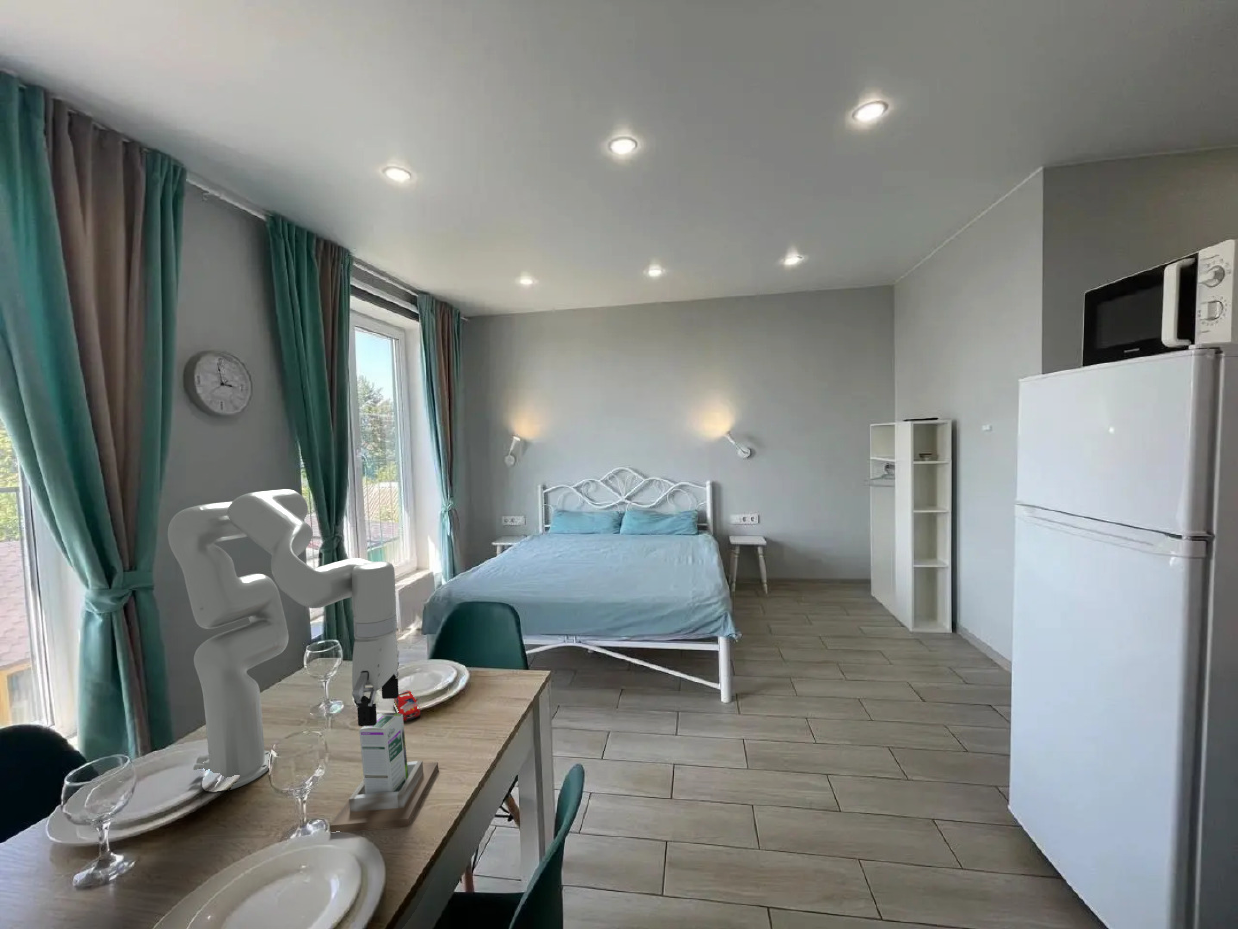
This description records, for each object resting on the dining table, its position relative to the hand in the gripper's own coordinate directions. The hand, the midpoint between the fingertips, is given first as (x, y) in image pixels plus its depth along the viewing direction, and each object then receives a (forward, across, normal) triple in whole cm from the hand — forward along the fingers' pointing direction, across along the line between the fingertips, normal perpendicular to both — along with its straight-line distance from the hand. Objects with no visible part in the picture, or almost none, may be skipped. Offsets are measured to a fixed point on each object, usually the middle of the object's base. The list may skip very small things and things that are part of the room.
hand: (379, 711), depth 95 cm
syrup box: (+16, +1, +1) cm, 16 cm away
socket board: (+18, 0, +1) cm, 18 cm away
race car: (+19, -34, -9) cm, 40 cm away
